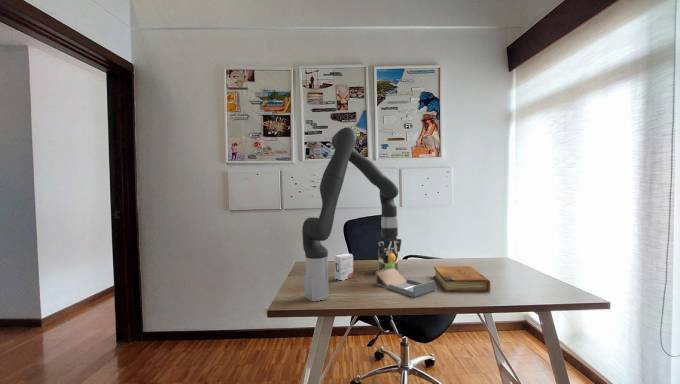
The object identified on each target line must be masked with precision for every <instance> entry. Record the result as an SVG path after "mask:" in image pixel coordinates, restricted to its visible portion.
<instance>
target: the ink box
mask: <svg viewBox="0 0 680 384" xmlns="http://www.w3.org/2000/svg"><path fill="white" fill-rule="evenodd" d="M352 277H353V278H354V255H353V254H352V253H343V254H337V255H334V280H336V279H338V280H337V281H339V280H343V281H345V279H347V280H350V279H353V278H352ZM349 278H350V279H349Z"/></svg>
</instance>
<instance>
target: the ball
mask: <svg viewBox="0 0 680 384" xmlns="http://www.w3.org/2000/svg"><path fill="white" fill-rule="evenodd" d="M387 256H388V263H393V262H394V261H395V259H396V257H395V255H394V254H393V253H391V252H389V253H388V255H387Z"/></svg>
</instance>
